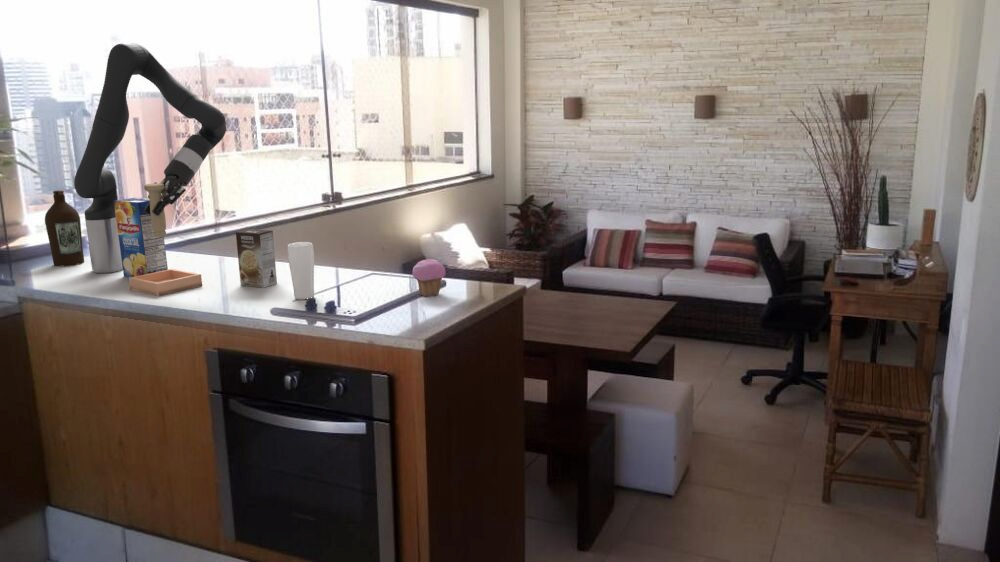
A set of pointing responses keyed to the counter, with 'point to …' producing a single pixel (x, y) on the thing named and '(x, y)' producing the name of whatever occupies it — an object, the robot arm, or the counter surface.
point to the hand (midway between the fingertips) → (151, 213)
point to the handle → (154, 197)
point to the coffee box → (256, 257)
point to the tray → (165, 282)
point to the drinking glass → (302, 269)
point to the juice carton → (138, 239)
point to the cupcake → (429, 276)
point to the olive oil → (64, 232)
